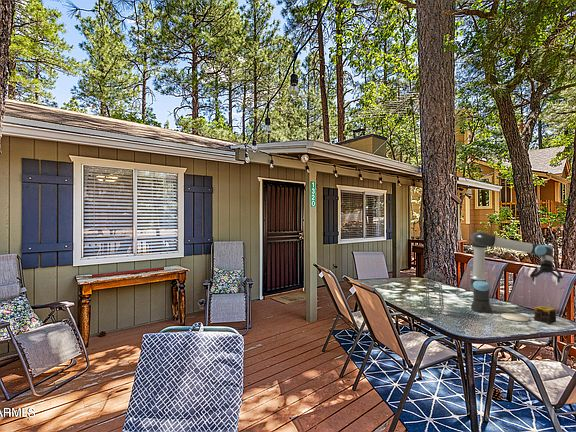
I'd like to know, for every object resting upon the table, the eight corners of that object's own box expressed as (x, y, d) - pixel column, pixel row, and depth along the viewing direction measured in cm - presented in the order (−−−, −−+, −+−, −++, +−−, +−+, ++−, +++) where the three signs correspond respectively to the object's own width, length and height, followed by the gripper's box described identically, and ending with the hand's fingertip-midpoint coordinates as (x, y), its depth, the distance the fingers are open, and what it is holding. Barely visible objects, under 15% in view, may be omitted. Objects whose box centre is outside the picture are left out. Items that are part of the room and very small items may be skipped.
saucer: (495, 316, 253) (495, 315, 253) (508, 313, 262) (508, 312, 262) (521, 323, 237) (521, 321, 237) (534, 319, 246) (534, 318, 246)
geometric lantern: (425, 314, 261) (423, 270, 263) (424, 309, 276) (423, 267, 277) (446, 315, 256) (445, 270, 257) (444, 310, 271) (443, 268, 272)
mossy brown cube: (549, 324, 235) (549, 310, 235) (533, 320, 244) (533, 307, 244) (556, 322, 240) (556, 308, 240) (540, 318, 249) (540, 305, 249)
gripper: (567, 265, 254) (567, 288, 244) (529, 265, 273) (527, 286, 262) (565, 259, 251) (565, 283, 241) (526, 259, 269) (524, 281, 259)
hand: (545, 285), depth 251 cm, fingers open, 13 cm apart
